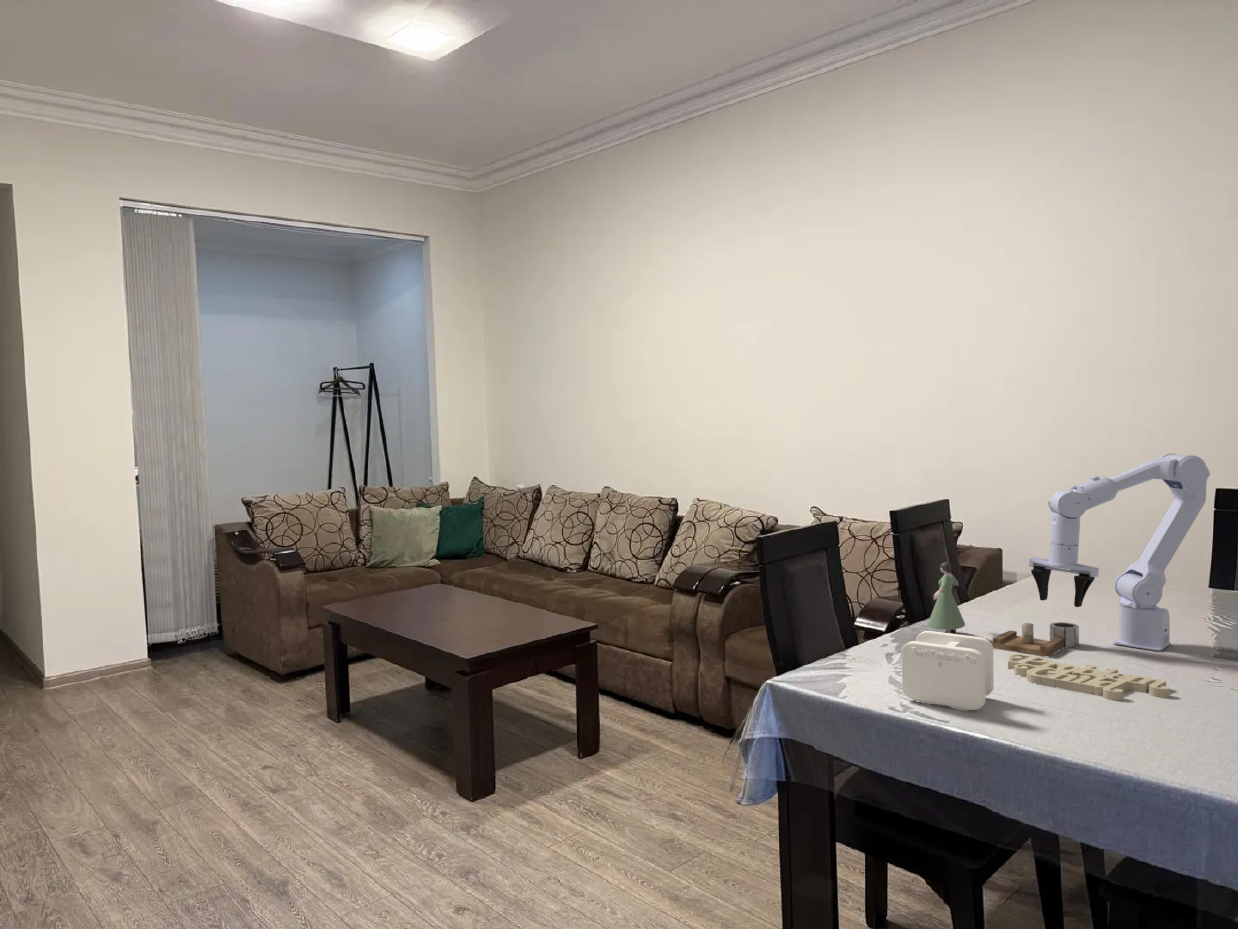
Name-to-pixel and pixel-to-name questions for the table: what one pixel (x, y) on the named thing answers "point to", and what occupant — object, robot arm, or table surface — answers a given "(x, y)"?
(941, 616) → the character figurine
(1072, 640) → the tube
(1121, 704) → the table surface
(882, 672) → the table surface
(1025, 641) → the shaft block
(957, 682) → the cable organizer
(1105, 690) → the decorative sign
